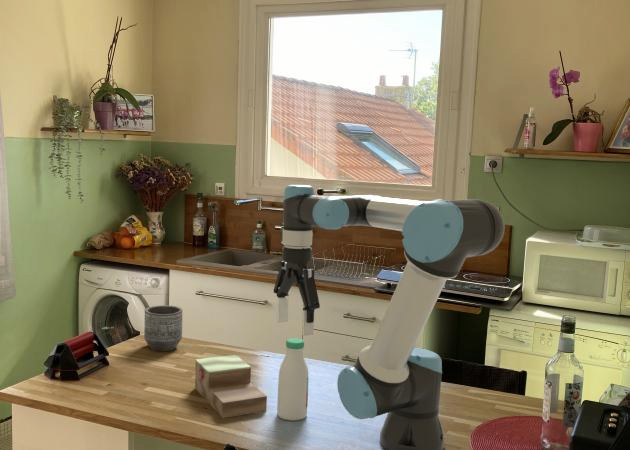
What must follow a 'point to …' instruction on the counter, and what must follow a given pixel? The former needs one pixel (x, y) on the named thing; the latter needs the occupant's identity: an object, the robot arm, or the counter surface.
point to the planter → (163, 327)
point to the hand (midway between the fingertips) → (294, 328)
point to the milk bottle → (293, 382)
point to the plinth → (228, 386)
